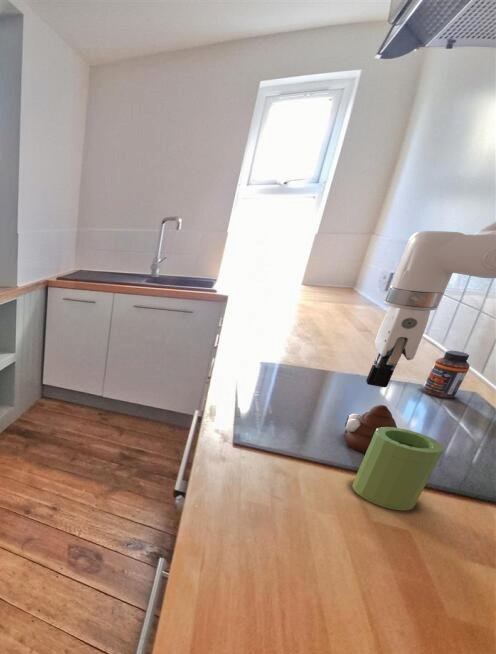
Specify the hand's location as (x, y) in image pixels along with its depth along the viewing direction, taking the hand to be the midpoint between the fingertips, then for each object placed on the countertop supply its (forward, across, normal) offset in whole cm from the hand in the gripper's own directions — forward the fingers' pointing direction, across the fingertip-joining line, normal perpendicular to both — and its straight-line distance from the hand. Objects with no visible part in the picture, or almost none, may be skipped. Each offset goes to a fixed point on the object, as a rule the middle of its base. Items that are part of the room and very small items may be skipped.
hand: (375, 384), depth 87 cm
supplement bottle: (+10, +33, -19) cm, 40 cm away
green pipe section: (+10, -29, 0) cm, 30 cm away
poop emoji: (+10, -10, 0) cm, 14 cm away
